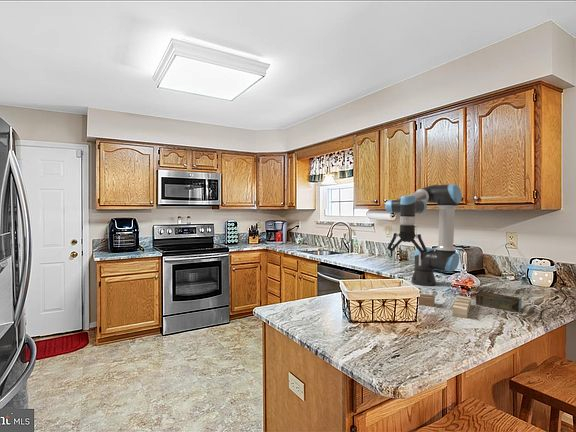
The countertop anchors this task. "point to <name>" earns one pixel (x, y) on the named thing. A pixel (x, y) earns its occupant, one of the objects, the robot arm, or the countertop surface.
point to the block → (427, 300)
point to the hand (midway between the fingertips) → (406, 264)
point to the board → (461, 306)
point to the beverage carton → (498, 301)
